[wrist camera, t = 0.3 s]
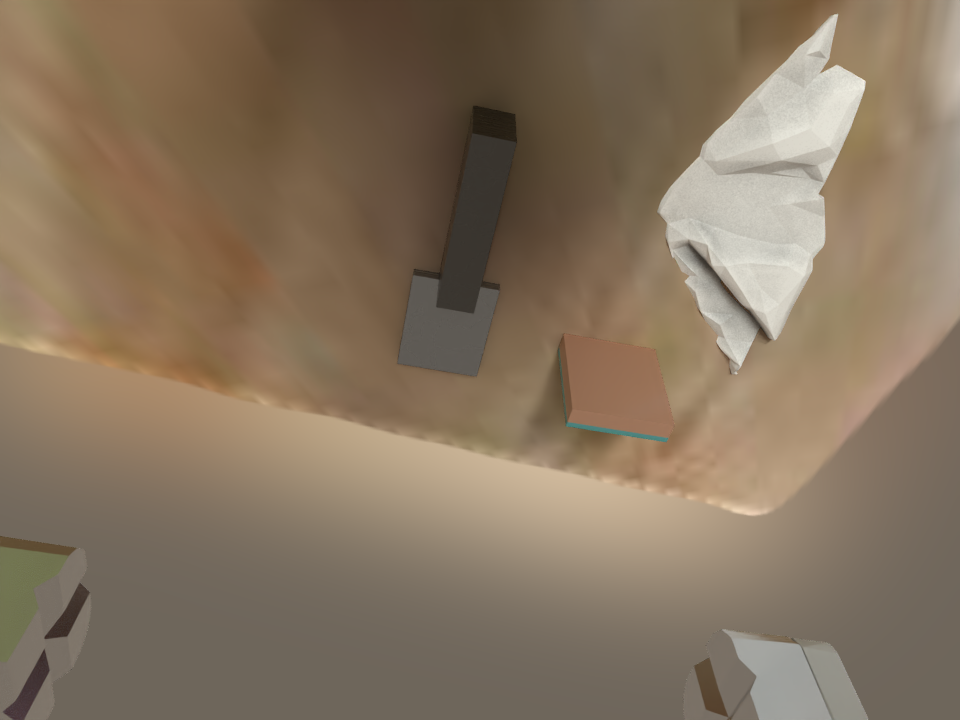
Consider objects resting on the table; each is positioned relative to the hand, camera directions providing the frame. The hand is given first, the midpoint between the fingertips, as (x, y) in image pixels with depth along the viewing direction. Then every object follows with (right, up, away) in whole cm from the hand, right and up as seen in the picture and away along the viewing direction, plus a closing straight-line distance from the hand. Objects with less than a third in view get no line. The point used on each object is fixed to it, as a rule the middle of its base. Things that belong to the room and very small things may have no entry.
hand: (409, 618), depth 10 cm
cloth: (+19, +13, +40) cm, 46 cm away
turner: (0, +11, +41) cm, 42 cm away
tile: (+10, +4, +47) cm, 48 cm away
